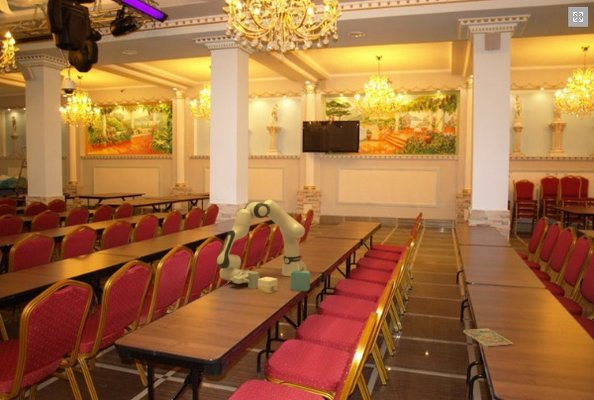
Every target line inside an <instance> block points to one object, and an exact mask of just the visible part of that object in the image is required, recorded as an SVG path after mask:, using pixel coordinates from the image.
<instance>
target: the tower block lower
mask: <svg viewBox="0 0 594 400" xmlns="http://www.w3.org/2000/svg"><path fill="white" fill-rule="evenodd" d="M278 288H279V286H278V285H276V286H272V287H269V288H267V287H263V286H259V285H258V288H257V292H260V293H265V294H267V295H268V294H272V293H274V292H279V291H278V290H279V289H278Z"/></svg>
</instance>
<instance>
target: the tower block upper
mask: <svg viewBox="0 0 594 400" xmlns="http://www.w3.org/2000/svg"><path fill="white" fill-rule="evenodd" d="M278 279H279V278H277V277H276V278H275V277H271V276H264V277H260V279H258V285H259V286H263V287H267V288H269V287H272V286H276V285H278Z"/></svg>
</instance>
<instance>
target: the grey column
mask: <svg viewBox="0 0 594 400" xmlns="http://www.w3.org/2000/svg"><path fill="white" fill-rule="evenodd" d="M252 271H253V272H249V273H248V279H250V281H251V282H247V283H248V284H247V286H248V288H249V289H252V290H256V289H258V279H259V277H260V272H257V271H254V270H252Z"/></svg>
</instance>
